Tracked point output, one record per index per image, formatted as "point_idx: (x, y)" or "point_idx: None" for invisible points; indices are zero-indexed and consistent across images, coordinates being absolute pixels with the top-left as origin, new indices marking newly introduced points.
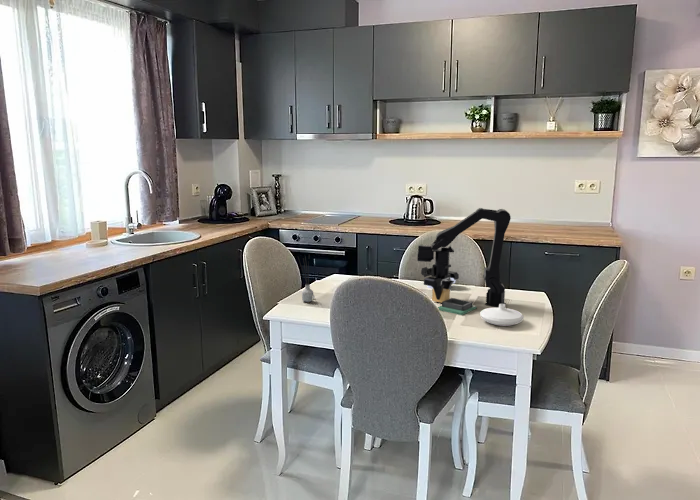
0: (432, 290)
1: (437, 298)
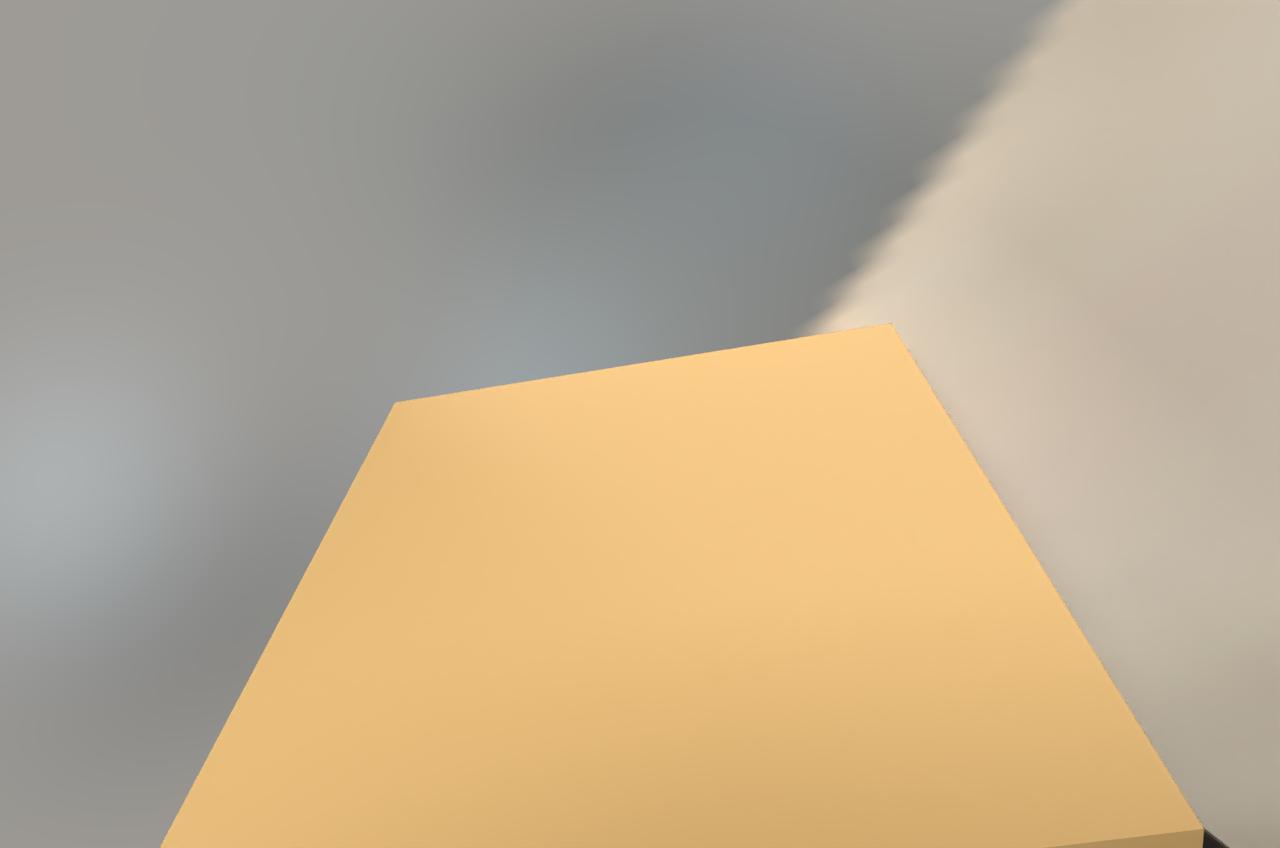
0: (166, 842)
1: None
